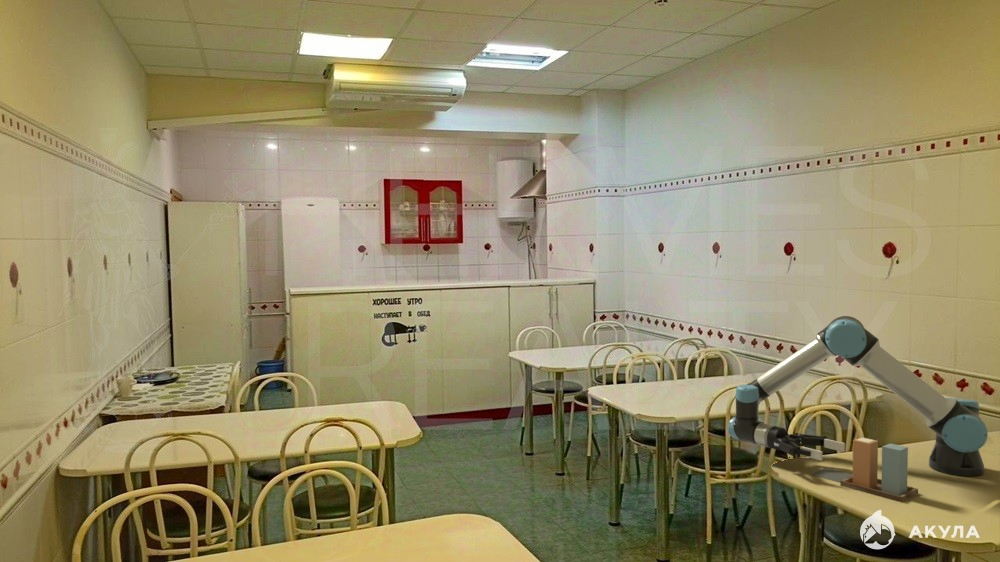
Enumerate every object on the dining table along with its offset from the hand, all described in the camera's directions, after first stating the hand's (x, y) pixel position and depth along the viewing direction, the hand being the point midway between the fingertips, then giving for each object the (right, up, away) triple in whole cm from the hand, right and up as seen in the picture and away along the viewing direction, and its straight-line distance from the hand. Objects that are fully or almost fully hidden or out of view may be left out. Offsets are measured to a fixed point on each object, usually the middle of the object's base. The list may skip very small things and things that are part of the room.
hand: (833, 451), depth 221 cm
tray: (+8, -9, -11) cm, 16 cm away
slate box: (+11, -9, -14) cm, 20 cm away
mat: (+1, -9, +3) cm, 9 cm away
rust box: (+6, -9, -7) cm, 13 cm away
